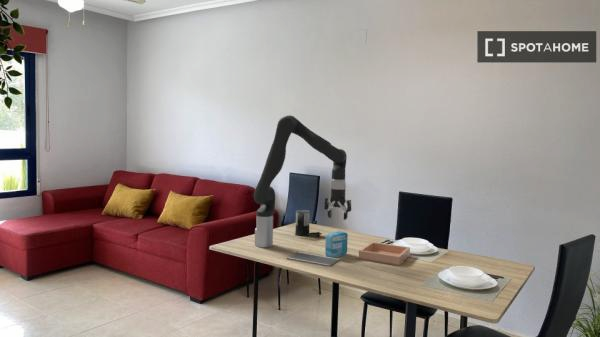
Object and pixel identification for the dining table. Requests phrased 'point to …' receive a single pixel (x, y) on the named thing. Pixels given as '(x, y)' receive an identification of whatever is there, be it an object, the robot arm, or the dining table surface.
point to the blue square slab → (336, 244)
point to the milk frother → (303, 223)
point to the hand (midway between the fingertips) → (337, 218)
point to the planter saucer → (384, 253)
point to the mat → (313, 259)
